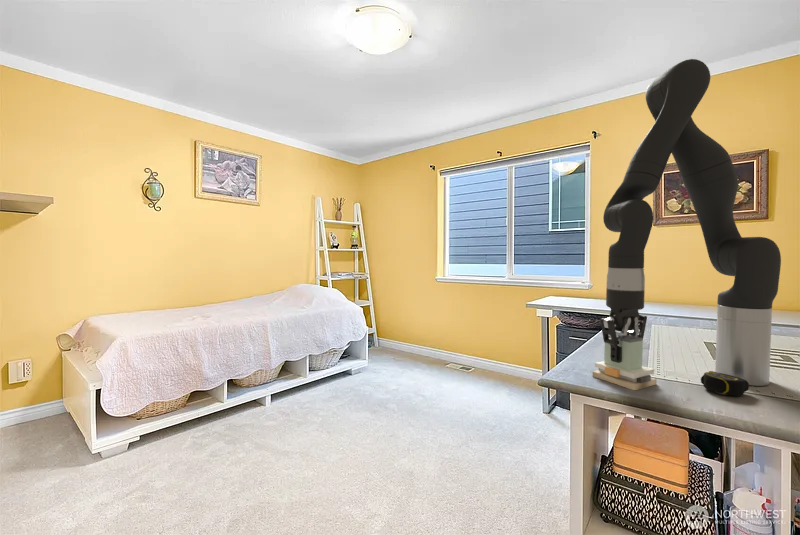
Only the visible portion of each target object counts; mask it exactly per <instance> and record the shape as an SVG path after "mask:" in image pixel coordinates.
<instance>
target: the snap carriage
mask: <svg viewBox="0 0 800 535" xmlns="http://www.w3.org/2000/svg"><path fill="white" fill-rule="evenodd" d="M594 368H597V369H598V370H599V371H600V372H604V373H605V374H608V375H611V376H614V377H619V378H623V379H626V380H629V381H632V382H637V378H639V377H643V376H647V375H653V374H655V368H651V367H648V366H643V365H642V368H640V369H636V370H632V371H628V370H624V369H621V368H618V367H614V366H611V365H607V364H604V360H602V361H596V362H594Z"/></svg>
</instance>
